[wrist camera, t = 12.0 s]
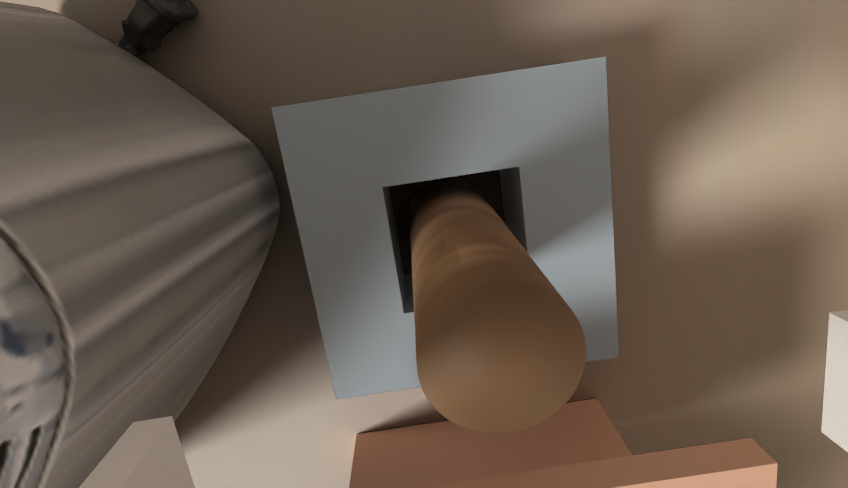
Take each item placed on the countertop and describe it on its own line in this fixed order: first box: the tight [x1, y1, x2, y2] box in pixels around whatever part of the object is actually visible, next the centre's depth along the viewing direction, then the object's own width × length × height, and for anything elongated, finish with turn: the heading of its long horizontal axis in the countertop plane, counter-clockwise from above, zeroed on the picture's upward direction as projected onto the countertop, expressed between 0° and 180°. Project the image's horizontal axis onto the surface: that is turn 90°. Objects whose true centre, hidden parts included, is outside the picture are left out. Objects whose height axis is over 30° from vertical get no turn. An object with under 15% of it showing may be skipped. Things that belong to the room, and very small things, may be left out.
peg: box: [409, 177, 586, 434], centre depth 19 cm, size 4×4×15 cm
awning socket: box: [271, 57, 778, 488], centre depth 21 cm, size 16×20×13 cm
